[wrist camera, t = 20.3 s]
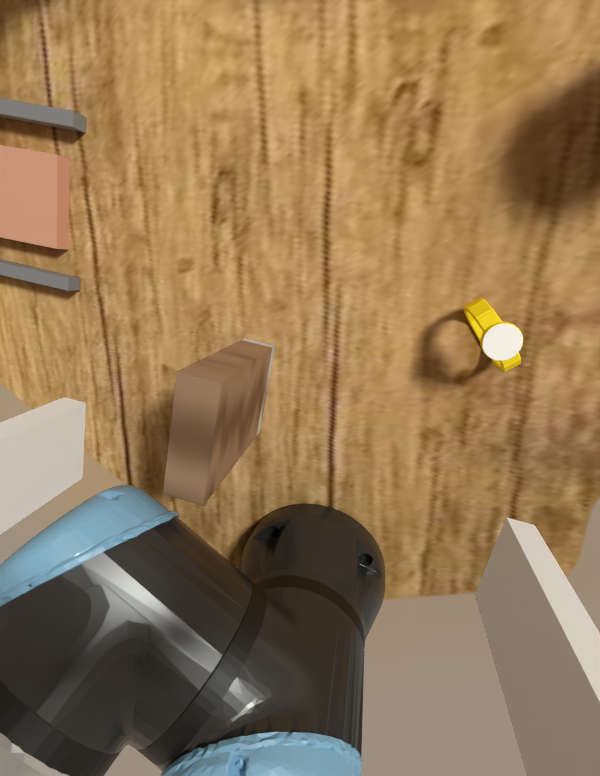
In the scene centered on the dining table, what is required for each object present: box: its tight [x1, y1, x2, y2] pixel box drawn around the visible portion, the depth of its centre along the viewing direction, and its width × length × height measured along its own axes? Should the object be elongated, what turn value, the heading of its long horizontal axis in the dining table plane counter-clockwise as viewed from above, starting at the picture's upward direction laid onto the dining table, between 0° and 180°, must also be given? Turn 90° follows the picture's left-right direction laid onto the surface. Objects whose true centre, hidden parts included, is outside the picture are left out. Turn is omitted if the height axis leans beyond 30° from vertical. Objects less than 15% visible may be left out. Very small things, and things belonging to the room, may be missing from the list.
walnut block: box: [163, 338, 276, 506], centre depth 34 cm, size 9×3×14 cm, turn 169°
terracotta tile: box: [0, 145, 70, 250], centre depth 39 cm, size 8×8×2 cm
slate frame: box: [0, 98, 86, 291], centre depth 39 cm, size 15×13×2 cm
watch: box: [464, 298, 523, 372], centre depth 33 cm, size 6×3×6 cm, turn 33°
